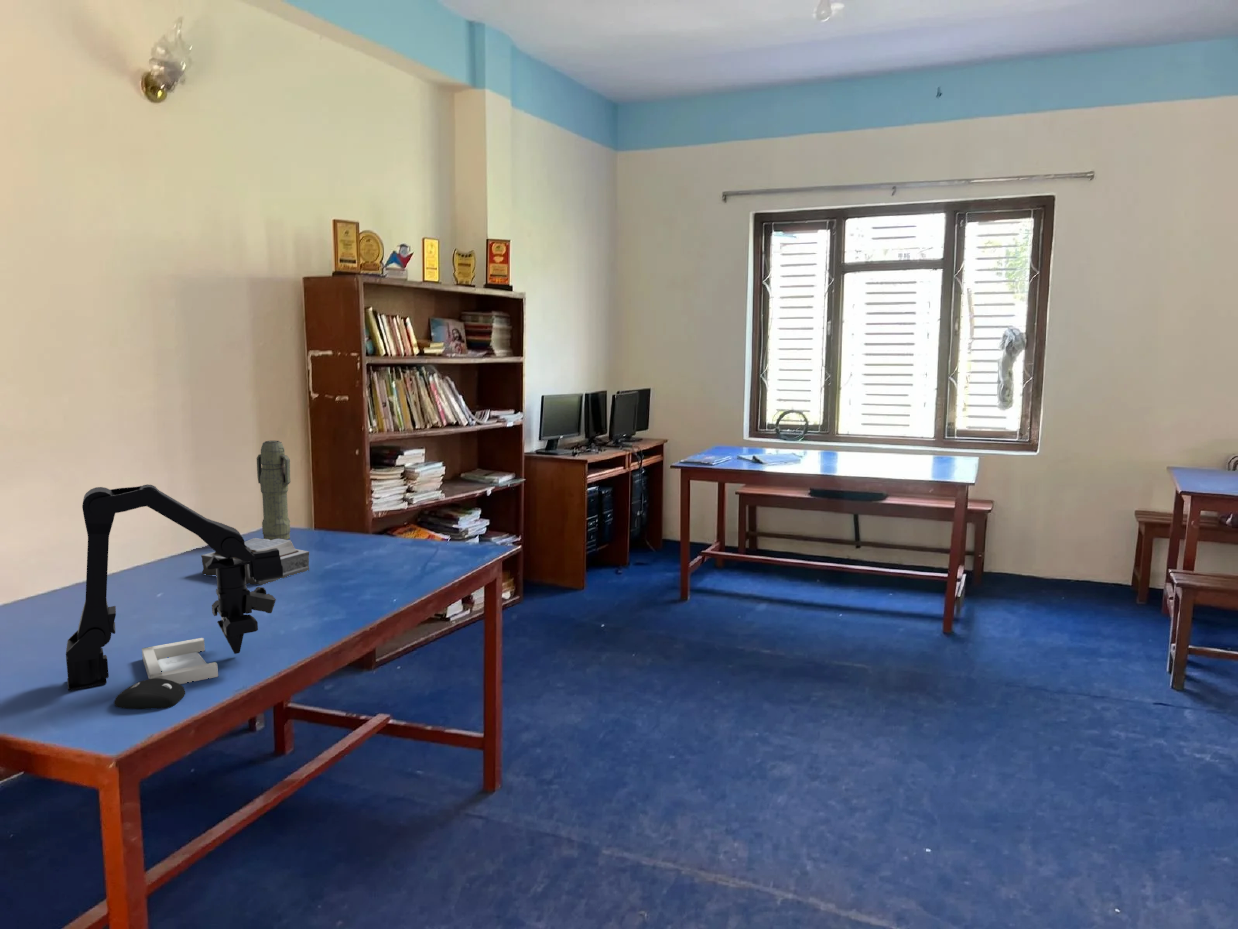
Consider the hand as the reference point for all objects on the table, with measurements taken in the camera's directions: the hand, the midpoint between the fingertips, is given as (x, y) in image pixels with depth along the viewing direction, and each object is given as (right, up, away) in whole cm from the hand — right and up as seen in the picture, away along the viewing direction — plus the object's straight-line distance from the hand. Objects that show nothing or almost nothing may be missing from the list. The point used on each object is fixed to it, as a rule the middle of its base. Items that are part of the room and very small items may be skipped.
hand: (236, 653), depth 179 cm
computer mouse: (-6, -5, -22) cm, 24 cm away
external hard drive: (-8, -3, -7) cm, 11 cm away
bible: (-25, +9, +65) cm, 71 cm away
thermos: (-36, +15, +105) cm, 112 cm away
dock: (-9, -2, -6) cm, 11 cm away
